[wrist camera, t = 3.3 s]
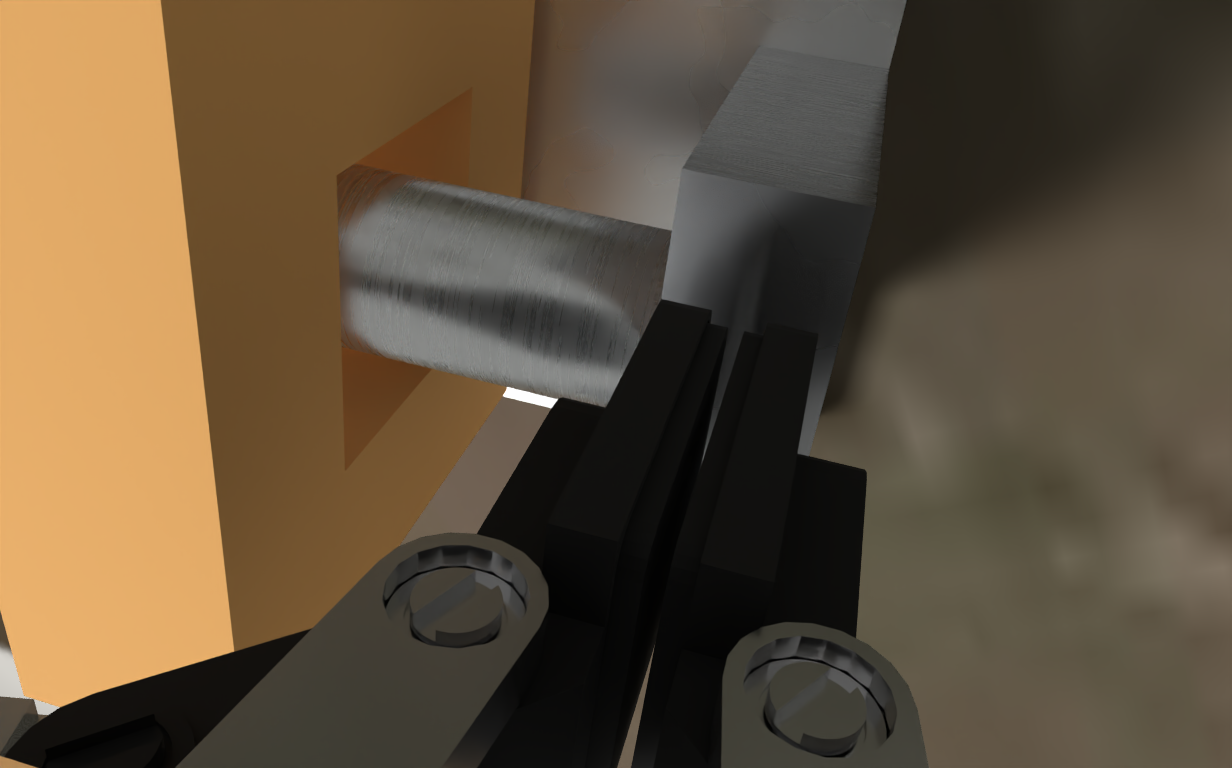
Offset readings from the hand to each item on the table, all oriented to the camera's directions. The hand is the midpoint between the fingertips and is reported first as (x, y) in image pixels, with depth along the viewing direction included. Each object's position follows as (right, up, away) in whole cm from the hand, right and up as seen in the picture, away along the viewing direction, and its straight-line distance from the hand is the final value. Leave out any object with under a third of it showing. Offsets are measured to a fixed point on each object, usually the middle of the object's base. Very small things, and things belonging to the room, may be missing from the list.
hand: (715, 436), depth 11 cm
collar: (-4, +5, +6) cm, 9 cm away
